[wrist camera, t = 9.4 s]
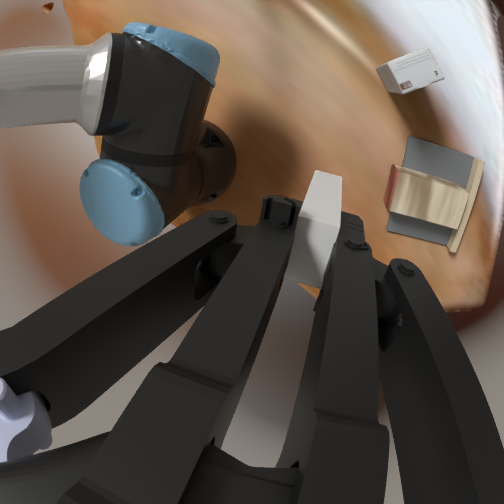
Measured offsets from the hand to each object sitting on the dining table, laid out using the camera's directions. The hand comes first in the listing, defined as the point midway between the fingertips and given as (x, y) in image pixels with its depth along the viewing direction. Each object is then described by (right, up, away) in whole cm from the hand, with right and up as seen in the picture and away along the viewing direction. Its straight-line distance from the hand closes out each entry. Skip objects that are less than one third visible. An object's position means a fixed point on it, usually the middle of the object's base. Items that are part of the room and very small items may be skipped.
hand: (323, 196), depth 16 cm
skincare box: (+17, +23, +18) cm, 34 cm away
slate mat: (+25, +6, +25) cm, 36 cm away
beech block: (+16, +7, +24) cm, 30 cm away
